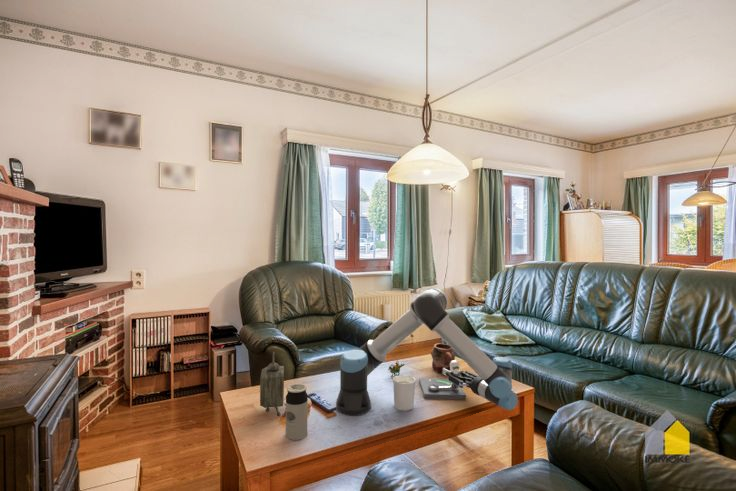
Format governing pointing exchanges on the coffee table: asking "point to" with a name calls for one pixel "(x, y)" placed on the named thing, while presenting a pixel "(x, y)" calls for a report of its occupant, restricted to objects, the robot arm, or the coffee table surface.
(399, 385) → the candle holder
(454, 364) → the shiny silver rounded post
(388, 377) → the coffee table surface
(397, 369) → the figurine
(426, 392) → the dial board
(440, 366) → the decorative planter
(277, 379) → the grey upright ornament
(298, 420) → the travel mug
